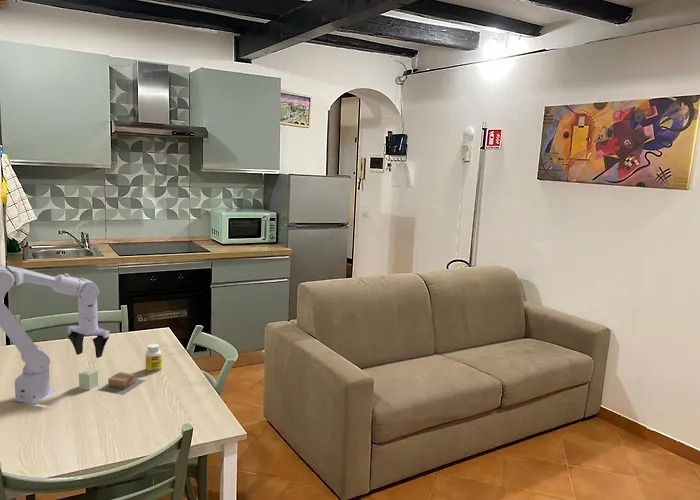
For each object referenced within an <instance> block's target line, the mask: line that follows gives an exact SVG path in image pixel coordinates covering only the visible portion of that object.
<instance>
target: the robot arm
mask: <svg viewBox="0 0 700 500" xmlns="http://www.w3.org/2000/svg"><path fill="white" fill-rule="evenodd" d="M70 275H71V274H69V273H67V272H66V273H63V274H61V273H60V274H58V275H56V276H52V275H48V274H44V273H42V272H41V273H40V272H37V271H33V270H29V269H25V268H21V267H17V266H12V265H6V266H5V265H3V264H0V328H1V329H2V330H3V332H4V334H5V335H6V336H7V337H8V338H9V340H10V341H11V343H13V345H14V346H15V347H16V349H17V350H18V352H19V353H20V356H21V361H23V363H24V366H23V368H22V372H21V374H20V375H18V377H16V378H15V380H14V391H15V392H14V393H15V394H14V395H15V396H14V397H15V398H13V401H14V402H18V403H23V404H24V403H25V404H30V405H36V404H37V402H40V401H42V400H44V399H46V398H48V397H49V396H51V395H53V394H55V393H56V392H58V391H57V390H55V389H51V383H50V382H51V381H50V379H51V378H50V364H51V359H50V357H49V355H47V354H46V352H45V351H44V349H43V348H42V347H41V346H39V345H37V344H36V343H35V342H34V341H33V340H32V339H31V337H30V336H29V335H28V334H27V332H26V330H25V329H24V328H23V327H22V326H21V324H20V323H19V321H18V320H17V319H16V318H15V316H14V315H13V314H12V312H11V311H10V310H9V308H8V307H7V306H6V305H5V303H4V299H5V296H6V294H7V292H9V290H11V288H12V287H13V286H14V285H15V286H16V287H17V286H20V285H22V284H24V283H30V284H35V285H40V286H45V287H51V289H52V290H53V291H54V292H55V293H60V294H63V295H67V296H68V295H69V296H74V297H76V296H77V300H78V301H77V309H78V311H77V313H78V316H77V317H78V325H70V326H68V327H67V333H68V334H69V335H67V337H68V339H69V341H70V342H71V344H72V346H73V348H74V351H75V353H76V355H77V356H79V355H81V354H83V351H84V346H83V345H84V339H85V338H84V337H85V335H87V336H95V337H94V338H92V341H93V345H94V350H95V358H96V359H99V358H101V357H102V356H103V353H104V349H105V346H106V345H107V342H108V340H109V338H110V330H107V329H104V328H101V327H99V321H98V297H99V295H100V291H101V290H100V289H99V286H98V285H97V284H96V283H95V282H93V281H92V280H90V279H87V278H84V277H80V278H78V277H74V276H70Z"/></svg>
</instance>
